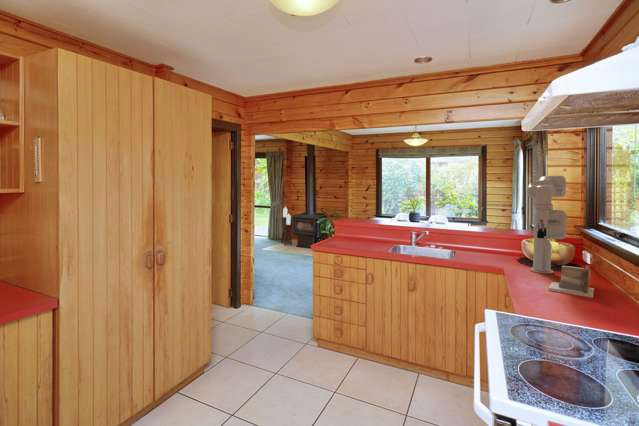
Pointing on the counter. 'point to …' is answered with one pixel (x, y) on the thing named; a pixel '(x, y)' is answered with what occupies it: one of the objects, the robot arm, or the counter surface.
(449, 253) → the counter surface
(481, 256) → the counter surface
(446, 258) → the counter surface
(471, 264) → the counter surface
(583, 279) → the cabinet side
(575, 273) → the beige rectangular block
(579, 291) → the white tile with rails
